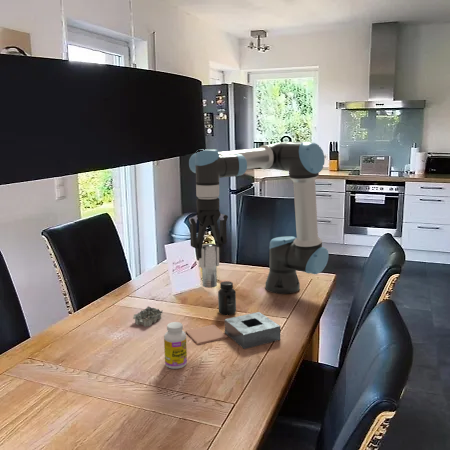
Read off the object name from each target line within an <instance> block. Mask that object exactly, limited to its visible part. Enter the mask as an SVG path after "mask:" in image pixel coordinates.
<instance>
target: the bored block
mask: <svg viewBox="0 0 450 450" xmlns="http://www.w3.org/2000/svg"><path fill="white" fill-rule="evenodd" d="M224 334H225V335H227V337H229V338H230V339H231V340H232V341H234V342H235V343H236V344H237V345H239V346H240V347H241V348H242V349H244V350H246V349H250V348H255V347H257V346H261V345H265V344H270V343H273V341H274V342H278V341H281V325H279V324H278V323H276V322H275V321H274V320H272V319H270V318H269V317H268V316H266V315H264V314H263V313H261V312H260V311H257V312H252V313H247V314H244V315H238V316H234V317H229V318H225V319H224ZM277 340H278V341H277Z"/></svg>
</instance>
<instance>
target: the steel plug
mask: <svg viewBox="0 0 450 450" xmlns="http://www.w3.org/2000/svg"><path fill="white" fill-rule="evenodd" d="M202 248H203V249H204V268H201V269H202V270H201V272H202V273H201V274H202V275H201V276H202V278H201V279H202V287H203V288H209V289H210V288H215V287H216V288H217V285H218V282H217V277H218V275H217V271H218V270H217V266H216V244H215V243H203V245H202Z"/></svg>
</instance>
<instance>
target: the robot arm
mask: <svg viewBox="0 0 450 450" xmlns="http://www.w3.org/2000/svg"><path fill="white" fill-rule="evenodd" d="M204 149H205V148H204ZM204 149H202V150H203V151H200V152H197V151H196V152H197V153H196V152H195V153H193V154H191V156H190V157H189V160H188V166H189V170H190V171H191V172H192V173H194V174H195V188H196V189H195V190H196V191H195V192H196V194H195V195H196V197H197V198H196V199H195V200H196V203H195V204H196V213H195V215H194V216H192V217H188V223H189V228H190V229H189V230H190V231H189V233H190V234H189V235H190V236H189V238H190V246H191V247H192V248H194V249H196V250H195V251H196V253H195V255H196V258H198V267H200V268H201V269H202V268H204V249H203V248H202V245H203V244H204V239H205V235H206V234H205V233H206V230H207V228H208V227H209V226H210V227H211V231H212V236H213V240H214V242H215V243H214V244H216V267H219V266H220V256H222V247H223V246H224V245H226V244H227V240H228V239H227V221H228V218H229V216H228V215H227V214H224V213H221V210H220V198H219V196H220V179H223V178H232V177H234V178H235V177H238V176H239V177H240V176H243V175H244V174H245V173H246V172H247V170H250V169H258V168H260V169H262V170H277V171H284V172H288V178H289V179H290V180H291V181H292V182H293V198H294V212H295V213H294V215H295V229H296V236H291V235H290V236H278V237H274V238H272V239H270V241H269V247H268V250H269V252H268V253H269V264H268V265H269V272H268V275H267V278H266V281H265V286H264V287H265V289H266V291H267V292H270V293H273V294H279V295H280V294H283V295H287V294H293V293H297V292H299V291H300V289H301V288H300V287H301V284H300V280H299V277H298V273H297V271H299V272H303V273H306V274H311V275H318V274H320V273H322V272H323V270H324V269H325V268H326V266H327V264H328V261H329V256H330V255H329V254H330V253H329V250H328V248H326V247H324V246H323V240H322V238H320V237H319V234H318V233H319V232H318V231H319V230H318V210H317V209H318V208H317V191H316V190H317V189H316V179H317V178H319V177H320V176H319V175H320V172H321V171H323V169H324V165H325V158H326V157H325V154H324V151H323V149H322V148H321V146H320V145H319V144H318V143H316V142H311V141H310V142H309V141H281V142H276V143H270V144H264V145H263V144H261V146H260V145H259V147H257V148H247V149H235V150H234V149H233V150H226V151H225V150H224V151H219V150H218V149H213V148H212V149H210V148H208V149H205V150H204ZM218 220H219V225H218ZM197 222H199V224H198V232H197Z"/></svg>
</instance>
